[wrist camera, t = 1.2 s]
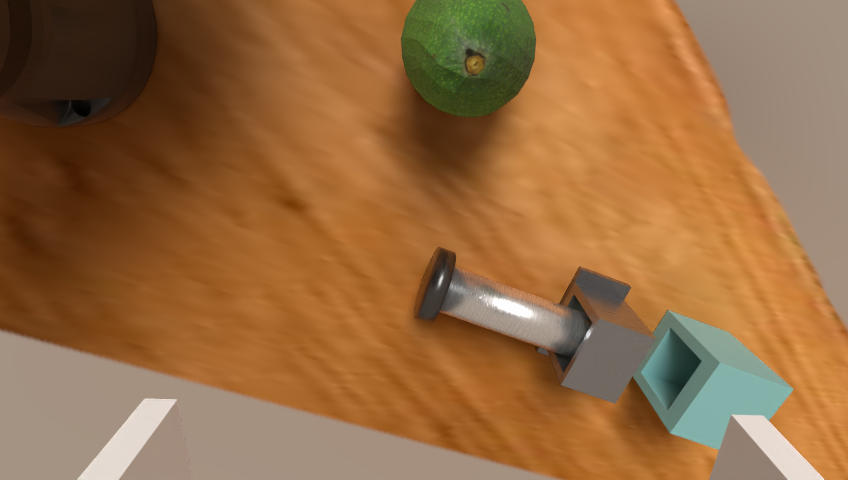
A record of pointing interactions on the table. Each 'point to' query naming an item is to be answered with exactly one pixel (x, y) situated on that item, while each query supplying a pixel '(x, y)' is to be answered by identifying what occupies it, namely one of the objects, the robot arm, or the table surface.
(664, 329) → the socket
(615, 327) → the guide
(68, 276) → the table surface
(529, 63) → the fruit
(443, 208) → the table surface
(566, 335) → the plunger
